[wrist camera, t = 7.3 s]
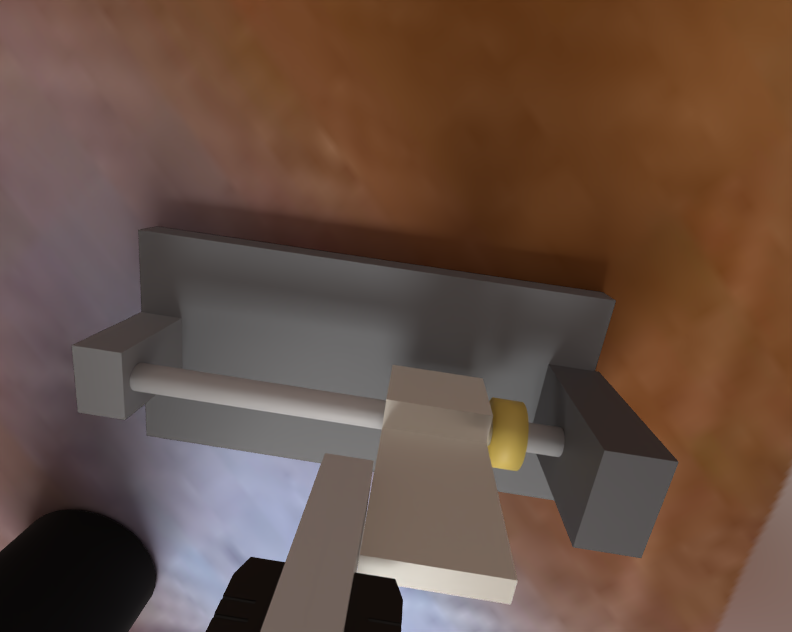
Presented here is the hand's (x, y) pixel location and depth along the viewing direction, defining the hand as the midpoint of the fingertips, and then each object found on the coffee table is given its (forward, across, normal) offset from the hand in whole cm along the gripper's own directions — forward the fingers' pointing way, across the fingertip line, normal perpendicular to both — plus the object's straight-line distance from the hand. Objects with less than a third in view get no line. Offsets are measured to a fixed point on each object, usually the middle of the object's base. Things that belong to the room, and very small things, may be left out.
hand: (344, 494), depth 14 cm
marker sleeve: (+7, +3, 0) cm, 7 cm away
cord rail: (+10, -1, 0) cm, 10 cm away
